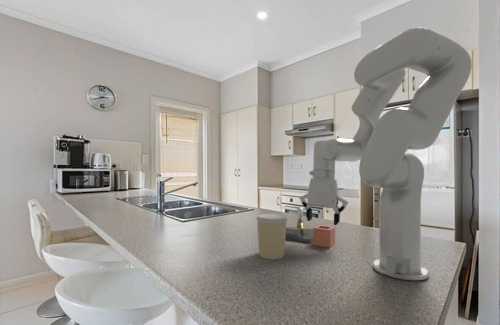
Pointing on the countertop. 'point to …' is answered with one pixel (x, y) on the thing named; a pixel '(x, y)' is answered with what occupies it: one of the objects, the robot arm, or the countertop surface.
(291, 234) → the shaft base
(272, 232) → the coffee cup
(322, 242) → the pink hollow cube
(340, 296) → the countertop surface
